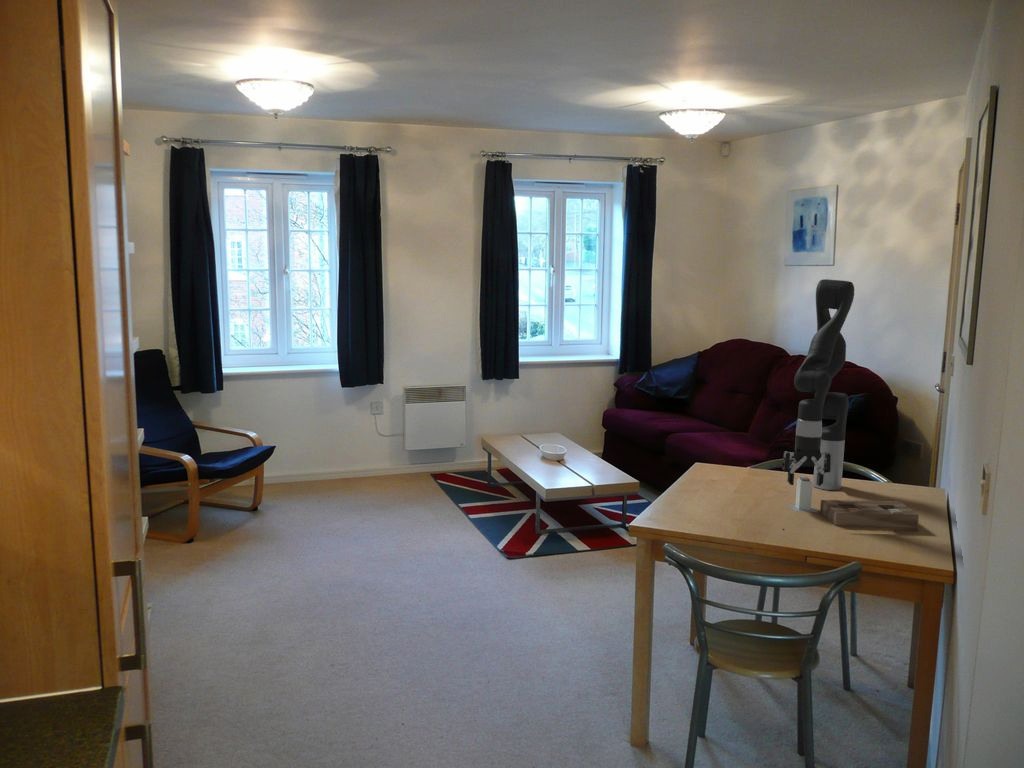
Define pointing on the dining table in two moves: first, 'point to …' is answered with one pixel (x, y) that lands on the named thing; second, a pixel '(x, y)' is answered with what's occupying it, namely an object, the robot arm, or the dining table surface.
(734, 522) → the dining table surface
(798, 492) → the plug
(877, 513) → the socket block
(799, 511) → the thin square blue plate
